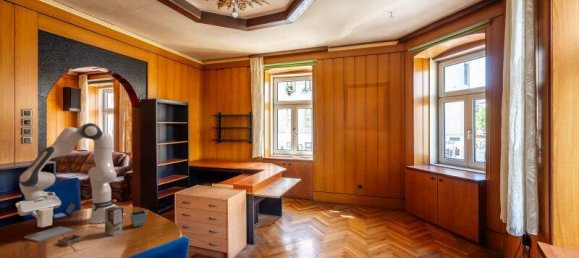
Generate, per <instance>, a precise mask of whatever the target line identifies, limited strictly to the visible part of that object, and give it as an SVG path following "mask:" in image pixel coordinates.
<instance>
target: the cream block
mask: <svg viewBox="0 0 579 258" xmlns="http://www.w3.org/2000/svg"><path fill="white" fill-rule="evenodd" d="M37 214H40V216H41V217H40V218H37V227H39V228H45V227H48V226H52V225H53V219H52V214H54V209H51V208H45V209H40V210H38V212H37Z"/></svg>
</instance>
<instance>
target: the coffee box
mask: <svg viewBox="0 0 579 258" xmlns="http://www.w3.org/2000/svg"><path fill="white" fill-rule="evenodd" d="M123 213H124V207H121V206H118V207H116V206H114V207H110V208H107V209H105V222H104V234H106V235H109V236H113V237H115V236H117V235H120V234H123V233H124V216H123Z"/></svg>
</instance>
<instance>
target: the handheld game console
mask: <svg viewBox="0 0 579 258" xmlns="http://www.w3.org/2000/svg"><path fill="white" fill-rule="evenodd" d="M77 207H78V203H76V202H75V201H73V200H70V202H69V204H68V205H67V206H66V208H64V210H63V211H62V212H61V211H60V212H57V213H53V215H52V221H53V220H54V221H61V220H64V219H70V218H72V214H73V213H74V211H75V210H76V208H77Z"/></svg>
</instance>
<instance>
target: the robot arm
mask: <svg viewBox="0 0 579 258" xmlns="http://www.w3.org/2000/svg"><path fill="white" fill-rule="evenodd" d="M82 139H89V140H92V141H93V161H94V164H95V166H94V167H91V168H90V169H89V170H88V173H87V175H88V178H89V181H90V184H91V190H92V191H91V193H92V198H91V199H92V201H91V213H90V217H89V220H88V223H90V224H102V223H103V222H104V223H105V209H107V208H110V207H114V206H116V207H119V205H116V204H115V203H116V202H117V199H112V188H111V186H110V183H113V182H114V181H116V178H117V171H116V170H115V167H114V161H113V138H112V135H111V134H110V133H107V132H103V131H102V130H101V128H100V126H99V125H97V124H95V123H92V122H87V123H84V124H82V125H81V126H79V127H73V126H67V127H65V128H64V129H63V130H62V131H61V132H60V134H59V135H58V136H57V137H56V138H55V140H54V142H53V143H52V144H50V146H47V147H46V148H44V149H43V150H42V151H41V152H40V154H38V155H37V157H36V158H35V159H34V161H33V162H31V164H30V165H29V166H28V167H27V168H26V169H25V170H24V171H23V172H22V173H21V174H20V176H19V179H18V181H19V188H20V191H21V193H22V194H23V195H24V199H25V200H21V201H17V202H16V203H15V207H16V209H17V212H18V215H19V216H22V217H23V216H27V215H31V216H32V217H35V218H36V219H38V218H40V217H41V216H40V214H38V210H40V209H45V208H51V209H53V210H55V209H58V208H60V206H61V205H62V201H61V200H60V198H59V197H58V196H57V195H56V193H55V192H53V191H52V192H51V191H44V190H46V189H48V188H50V187H51V186H53V185H54V184H55V183H56V181H57V180H56V179H57V178H56V175H55V173H52V172H47V171H42V169H43V168H45V166H46V164H47V163H48V162H50V160H51V159H54V158H57V157H64V156H67V155H69V154H71V153H72V152H73V151H74V150H75V148H76V146H77V144H78V143H79V142H80V140H82ZM53 214H54V213H53ZM53 214H52V215H53ZM124 215H125V216H126V213H125V212H123V217H125V216H124ZM104 223H103V224H104Z"/></svg>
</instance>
